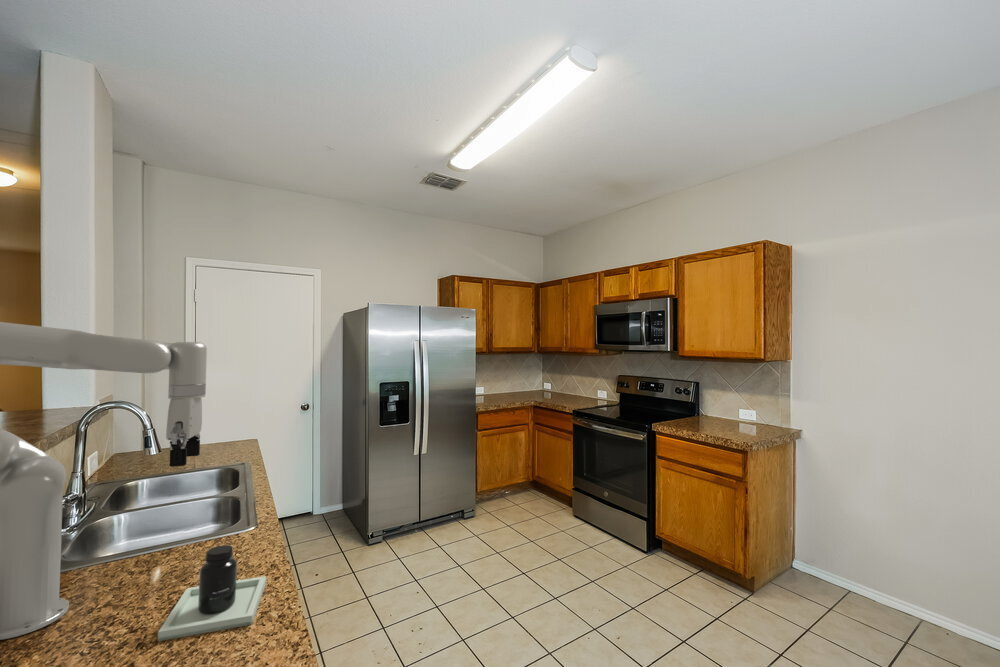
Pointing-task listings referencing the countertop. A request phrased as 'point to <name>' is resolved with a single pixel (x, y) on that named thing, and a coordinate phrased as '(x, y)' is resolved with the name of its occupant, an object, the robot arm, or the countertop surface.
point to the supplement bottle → (217, 580)
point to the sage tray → (193, 622)
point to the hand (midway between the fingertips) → (185, 460)
